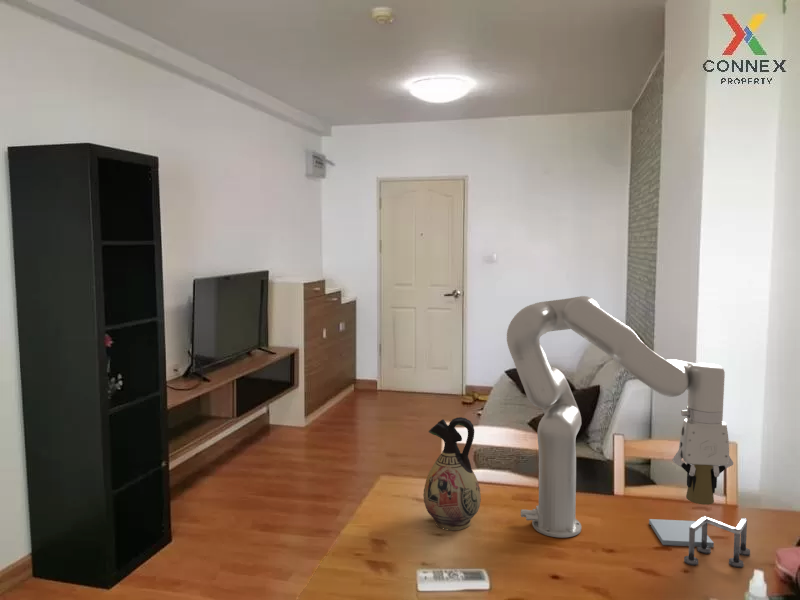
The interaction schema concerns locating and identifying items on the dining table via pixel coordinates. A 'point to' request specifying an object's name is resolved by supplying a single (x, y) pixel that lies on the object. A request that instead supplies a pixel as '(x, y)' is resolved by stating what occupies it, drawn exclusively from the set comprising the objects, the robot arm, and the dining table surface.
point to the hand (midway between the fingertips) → (701, 489)
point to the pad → (676, 532)
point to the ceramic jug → (452, 479)
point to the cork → (701, 486)
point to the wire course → (703, 548)
